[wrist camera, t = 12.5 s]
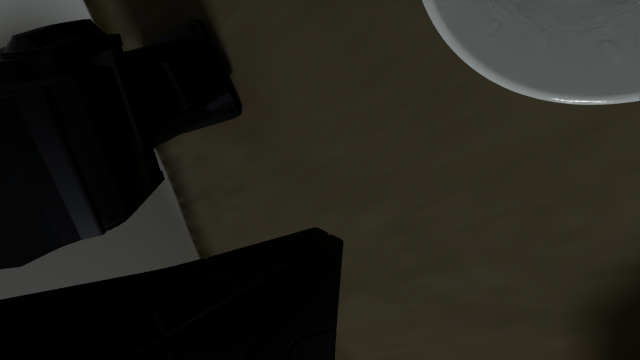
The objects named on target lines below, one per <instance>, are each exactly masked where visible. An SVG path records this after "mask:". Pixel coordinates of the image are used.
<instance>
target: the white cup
mask: <svg viewBox="0 0 640 360" xmlns="http://www.w3.org/2000/svg"><path fill="white" fill-rule="evenodd" d="M422 1H423V4H424V6H425V9H426V11H427V13H428V15H429V17H430V19H431V21H432V22H433V24H434V26H435V27H436V29H437V31H438V32H439V34H440V35H441V36H442V38H443V39H444V40H445V42H446V43H447V44H448V45H449V47H450V48H451V49H452V50H453V51H454V52H455V53H456V54H457V55H458V56H459V57H460V58H461V59H462V60H463V61H464V62H465V63H467V64H468V65H469V66H470V67H471V68H473V69H474V70H475V71H477V72H478V73H480V74H481V75H483V76H484V77H486V78H487V79H489V80H491V81H493V82H495V83H496V84H498V85H500V86H503V87H505V88H507V89H509V90H512V91H514V92H517V93H520V94H523V95H526V96H530V97H533V98H537V99H542V100H546V101H552V102H559V103H567V104H583V105H600V104H617V103H626V102H634V101H640V0H422Z"/></svg>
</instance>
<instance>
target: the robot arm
mask: <svg viewBox="0 0 640 360" xmlns="http://www.w3.org/2000/svg"><path fill="white" fill-rule="evenodd" d="M195 26H196V27H197V30H196V28H195ZM121 45H123V43H122V40H121V37H120V34H106V33H105V32H103V31H102V30H100V29H99V28H98V27H97V26H96V25H95V24H94V22H93V21H92V20H91V19H82V20H76V21H70V22H64V23H58V24H52V25H48V26H44V27H40V28H37V29H33V30H30V31H26V32H23V33H20V34H16V35H13V36H12V37H11V39H10V41H9V42H8V44H7V46H6V47H3V48H1V49H0V269H6V268H15V267H21V266H23V265H25V264H27V263H29V262H31V261H34V260H35V259H37V258H40V257H41V256H44V255H46V254H48V253H50V252H52V251H54V250H56V249H58V248H61V247H62V246H65V245H68V244H71V243H74V242H77V241H79V240H83V239H87V238H91V237H96V236H100V235H103V234H104V233H106V231H108V230H111V229H113V228H114V227H117V226H119V225H120V224H122V223H123V222H125V221H126V220H127V219H128V218H129V217H130V216H131V215H132V214H133V213H134V212H136V211H137V209H138V208H139V207H140V206H141V205H142V204H143V202H144V201H145V200H146V199H147V198H148V197H149V196H150V195H151V194H152V193H153V192H154V190H155V189H156V188H157V187H158V186H159V185H160V184H161V183H162V181H164V179H165V178H164V175H163V172H162V171H161V170H160V168H159V164H158V161H157V158H156V155H155V151H154V148H156V147H157V146H159V145H161V144H163V143H165V142H167V141H169V140H171V139H173V138H175V137H176V136H178V135H180V134H182V133H187V132H190V131H194V130H197V129H200V128H204V127H207V126H210V125H214V124H217V123H220V122H224V121H227V120H230V119H233V118H236V117H238V116H239V115H241V107H240V105H239V103H238V100H237V98H236V96H235V94H234V92H233V89H232V87H231V85H230V83H229V80H228V78H227V76H226V74H225V72H224V69H223V67H222V65H221V63H220V60H219V58H218V56H217V54H216V52H215V49H214V47H213V45H212V43H211V40H210V38H209V36H208V34H207V32H206V29H205V27H204V25H203V23H202V22H201V21H200V20H192V21H189V22H187V23H186V24H184V25H182V26H180V27H178V28H177V29H175V30H173V31H171V32H169V33H167V34H166V35H164V36H162V37H160V38H158V39H157V40H155V41H153V42H151V43H149V44H148V45H146V46H144V47H141V48H137V49H133V50H130V51H126V52H123V49H122V46H121ZM232 108H233V109H234V110H235V112H234V111H233V109H232ZM342 253H343V240H342V239H340V238H338V237H336V236H334V235H329V234H328V233H327V232H325V231H323V230H321V229H319V228H317V227H315V228H310V229H307V230H303V231H300V232H296V233H293V234H289V235H286V236H282V237H279V238H275V239H271V240H268V241H264V242H261V243H257V244H254V245H250V246H247V247H243V248H239V249H236V250H232V251H229V252H225V253H222V254H218V255H215V256H211V257H208V258H206V259H205V258H202V259H199V260H195V261H191V262H188V263H184V264H180V265H176V266H172V267H168V268H163V269H158V270H154V271H149V272H144V273H139V274H134V275H129V276H123V277H118V278H112V279H108V280H102V281H97V282H91V283H86V284H81V285H75V286H70V287H65V288H60V289H55V290H49V291H44V292H38V293H34V294H28V295H23V296H18V297H12V298H8V299H1V300H0V360H335V343H336V327H337V315H338V303H339V290H340V278H341V266H342Z"/></svg>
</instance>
